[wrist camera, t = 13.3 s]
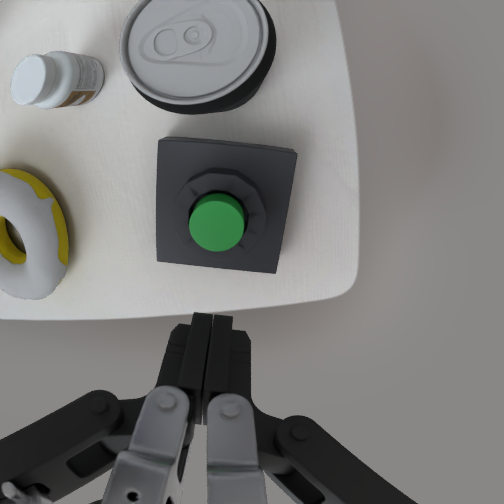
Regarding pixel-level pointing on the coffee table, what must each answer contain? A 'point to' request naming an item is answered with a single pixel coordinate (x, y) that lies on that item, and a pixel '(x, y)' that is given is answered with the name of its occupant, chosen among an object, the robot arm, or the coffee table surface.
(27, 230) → the donut
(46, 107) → the pill bottle
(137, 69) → the beverage can
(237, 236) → the button
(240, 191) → the button block
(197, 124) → the coffee table surface
